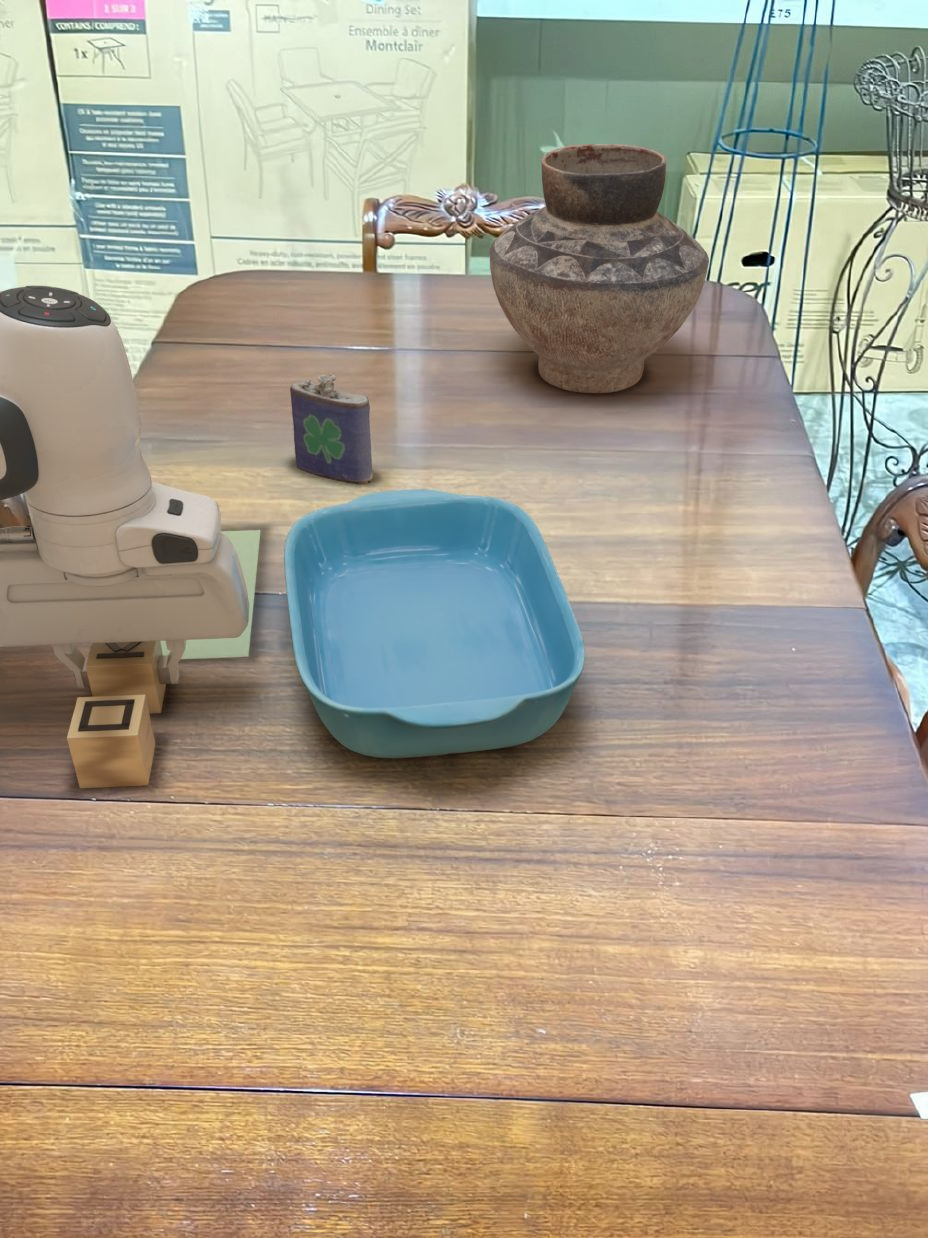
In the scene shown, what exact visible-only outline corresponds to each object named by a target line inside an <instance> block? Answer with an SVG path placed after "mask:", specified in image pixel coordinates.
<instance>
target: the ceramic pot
mask: <svg viewBox="0 0 928 1238" xmlns="http://www.w3.org/2000/svg"><path fill="white" fill-rule="evenodd" d="M667 161H668V159H667V157H666V156H665V155H664V154H663V153H662V152H661V151H657V150H656V149H652V148H649V147H644V146H637V145H631V144H622V143H581V144H572V145H567V146H562V147H558V148H556V149H553V150H550V151H549V152H547V153H545V154H543V155H542V157H541V159H540V164H541V184H542V185H541V186H542V193H543V199H544V203H545V206H543V207H541V208H538V209H537V210H535V211H534V212H532V213H529V214H528V215H526V216H525V217H523V218H521V219H520V220H518V221H517V222H515V223H514V224H512V225H511V226H509V227H508V228H506V229H505V230H504V231H503V232H502V233H501V234H499V236H497V237H496V238H495V239H494V240H493V241H492V242H491V244H490V246H489V251H488V252H489V253H488V254H489V270H490V271H489V272H490V276H491V280H492V281H491V282H492V286H493V290H494V292H495V296H496V298H497V302H498V303H499V306H500V307H501V310H502V311H503V313H504V315H505V317H506V319H507V321H508V323H509V324H510V325H511V327H512V328H513V329H514V331H515V332H516V334H517V335H518V337H519V338H520V339H521V341H522V342H524V344H525V345H526V346H527V347H528V348H529V349H530V350H532V352H534V353H535V354H537V356H538V362H537V365H538V374H539V376H540V378H542V379H543V380H544V381H545V382H546V383H548V384H550V386H551V385H552V386H554V387H555V388H560V389H561V390H566V391H569V392H574V393H575V392H576V393H583V394H584V393H585V394H608V393H614V392H619V391H623V390H626V389H628V388H631V387H632V386H634V385H636V384H638V383H639V381H640V380H641V378H642V377H643V372H644V368H645V361H646V359H647V358H648V357H649V356H651V355H653V354H654V353H656V352H657V351H659V349H661V348H662V347H663V346H664V345H665V344H666V343H667V342H668V341H669V340H670V339H671V338H672V337H673V336H674V335H675V334H676V333H677V332H678V331H679V330H680V328H682V326H683V324H684V323H685V321H687V319H688V317H689V316H690V315H691V314H692V312H693V310H694V308H695V306H696V304H697V302H698V300H699V298H700V296H701V293H702V291H703V289H704V285H705V282H706V278H707V274H708V268H709V266H710V265H709V264H710V256H709V254H708V252H707V251H706V250H705V248H704V247H703V246H702V245H701V244H700V243H699V241H698V240H697V239H696V238H694V237H693V236H691V235H690V234H689V233H688V232H687V231H686V230H684V229H683V228H682V227H680V226H679V225H677V223H675V222H674V221H672V220H671V219H670V218H668V217H667V216H665V215H664V214H662V213H660V212H659V211H658V209H659V206H660V205H661V200H662V197H663V193H664V190H665V185H666V184H665V183H666V175H667Z"/></svg>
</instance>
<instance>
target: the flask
mask: <svg viewBox="0 0 928 1238" xmlns="http://www.w3.org/2000/svg"><path fill="white" fill-rule="evenodd" d="M316 380H317V382H319V383H318V384H317V383H315V382H313V381H312V379H310V378H308V379H306V380H305V381H297V382H295V381H294V383H292V384H291V385H290V388H289V391H290V402H291V416H292V425H293V442H294V455H295V466H296V468H297V469H299V470H301V471H303V472H305V473H307V474H310V475H314V476H316V477H320V478H324V479H327V480H332V481H337V482H342V483H346V484H353V485H367V484H370V482H373V480H374V469H373V458H372V457H373V456H372V443H371V439H372V438H371V425H370V424H371V423H370V420H371V419H370V413H371V405H370V400H369V397H368V396H366V395H363V394H358V393H357V394H356V393H350V392H345V391H339V390H335V389H334V388H335V383H334V382H335V381H336V380H337V376H336V375H334V373H329V376H328V375H327V374H320V375H318V376H317V377H316Z"/></svg>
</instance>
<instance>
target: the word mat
mask: <svg viewBox="0 0 928 1238" xmlns="http://www.w3.org/2000/svg"><path fill="white" fill-rule="evenodd" d="M261 531H262V530H261V529H255V530H254V529H250V530H249V529H247V530H221V533H223V534H224V535H225V536H226V537H227V538H228V539H229V540H230V541H231V542H232V544H233V546H234V548H235V550H236V552H237V555H238V558H239V561H240V564H241V567H242V571H243V575H244V579H245V583H246V588H247V593H248V599H249V622H248V626H247V628H246V629H245V631H244V632H243V633H242V634H241V635H240V636H239V637H237V638H219V639H194V640H187V642H186V648H185V651H184V653H183V655H182V657H181V659H180V661H181V660H203V659H204V660H206V659H207V660H208V659H226V658H227V659H229V658H230V659H231V658H249V657H250V646H251V636H252V626H253V615H254V605H255V604H254V603H255V594H256V593H255V592H256V583H257V574H258V563H259V552H260V541H261ZM160 642H161V647H162V652H163V656H164V655H169V653H170V651H171V650H168V649H167V646H166V641H160Z"/></svg>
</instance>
